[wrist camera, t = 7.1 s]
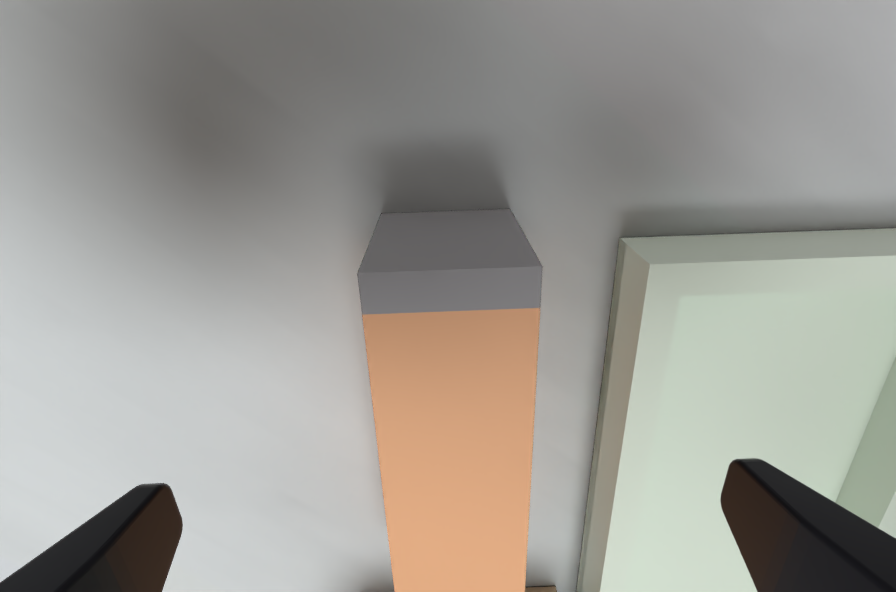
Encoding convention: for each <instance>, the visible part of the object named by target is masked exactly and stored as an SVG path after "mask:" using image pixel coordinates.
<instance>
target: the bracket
mask: <svg viewBox="0 0 896 592" xmlns="http://www.w3.org/2000/svg"><path fill="white" fill-rule="evenodd" d="M525 592H557V590H556V586H551V587H528V588H525Z"/></svg>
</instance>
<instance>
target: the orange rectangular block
mask: <svg viewBox="0 0 896 592" xmlns="http://www.w3.org/2000/svg"><path fill="white" fill-rule="evenodd" d="M357 274H358V283H359V292H360V300H361V309H362V317H363V326H364V334H365V343H366V351H367V360H368V368H369V377H370V386H371V394H372V403H373V411H374V420H375V428H376V437H377V445H378V454H379V463H380V471H381V480H382V488H383V497H384V505H385V514H386V522H387V531H388V540H389V548H390V557H391V565H392V574H393V582H394V591H395V592H525V579H526V561H527V542H528V524H529V506H530V487H531V469H532V450H533V432H534V413H535V395H536V376H537V358H538V340H539V321H540V303H541V284H542V265H541V263H540V261H539V259H538V257H537V256H536V254H535V252H534V250H533V249H532V247H531V245H530V243H529V242H528V240H527V238H526V236H525V234H524V233H523V231H522V229H521V227H520V226H519V224H518V222H517V220H516V219H515V217H514V215H513V213H512V211H511V210H510V209H491V210H463V211H435V212H407V213H381V215H380V218H379V220H378V223H377V225H376V228H375V230H374V233H373V235H372V238H371V240H370V243H369V245H368V248H367V250H366V253H365V255H364V258H363V260H362V263H361V265H360V268H359V270H358V273H357Z"/></svg>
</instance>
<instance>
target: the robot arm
mask: <svg viewBox="0 0 896 592" xmlns="http://www.w3.org/2000/svg"><path fill="white" fill-rule="evenodd" d="M720 502H721V507H722V511H723V514H724V516H725V518H726V521H727V523H728V525H729V527H730V530H731V532H732V534H733V537H734V539H735V541H736V544H737V546H738V548H739V550H740V553H741V555H742V557H743V560H744V562H745V564H746V567H747V569H748V571H749V573H750V576H751V578H752V580H753V583H754V585H755V587H756V590H757V592H896V538H894V537H893V536H891V535H889V534H887V533H886V532H884V531H882V530H881V529H879V528H877V527H876V526H874V525H872V524H871V523H869V522H867V521H865V520H864V519H862V518H860V517H859V516H857V515H855V514H854V513H852V512H850V511H849V510H847V509H845V508H844V507H842V506H840V505H838V504H837V503H835V502H833V501H832V500H830V499H828V498H827V497H825V496H823V495H822V494H820V493H818V492H816V491H815V490H813V489H811V488H810V487H808V486H806V485H805V484H803V483H801V482H800V481H798V480H796V479H794V478H793V477H791V476H789V475H788V474H786V473H784V472H783V471H781V470H779V469H778V468H776V467H774V466H772V465H771V464H769V463H767V462H766V461H764V460H762V459H758V458H745V459H735V460H733V461H732V462H731V463H730V464H729V467H728V471H727V474H726V478H725V481H724V485H723V489H722V492H721V498H720ZM182 526H183V524H182V517H181V515H180V512H179V509H178V506H177V504H176V501H175V498H174V495H173V492H172V490H171V488H170V487H169V486H168V485H167V484H164V483H155V484H142V485H139V486H136V487H135V488H133V489H132V490H130V491H129V492H128V493H126V494H125V495H123V496H122V497H121V498H119V499H118V500H116V501H115V502H113V503H112V504H111V505H109V506H108V507H106V508H105V509H104V510H102V511H101V512H99V513H98V514H96V515H95V516H94V517H92V518H91V519H89V520H88V521H87V522H85V523H84V524H82V525H81V526H80V527H78V528H77V529H75V530H74V531H72V532H71V533H70V534H68V535H67V536H65V537H64V538H63V539H61V540H60V541H58V542H57V543H55V544H54V545H53V546H51V547H50V548H48V549H47V550H46V551H44V552H43V553H41V554H40V555H39V556H37V557H36V558H34V559H33V560H31V561H30V562H29V563H27V564H26V565H24V566H23V567H22V568H20V569H19V570H17V571H16V572H14V573H13V574H12V575H10V576H9V577H7V578H6V579H5V580H3V581H2V582H0V592H162V590H163V587H164V584H165V581H166V578H167V575H168V572H169V569H170V566H171V564H172V561H173V558H174V555H175V552H176V549H177V546H178V543H179V540H180V537H181V534H182Z"/></svg>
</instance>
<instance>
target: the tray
mask: <svg viewBox="0 0 896 592" xmlns="http://www.w3.org/2000/svg"><path fill="white" fill-rule="evenodd" d="M745 458H758V459H762V460H764V461H766V462H767V463H769V464H771V465H772V466H774V467H776V468H778V469H779V470H781V471H783V472H784V473H786V474H788V475H789V476H791V477H793V478H794V479H796V480H798V481H800V482H801V483H803V484H805V485H806V486H808V487H810V488H811V489H813V490H815V491H816V492H818V493H820V494H822V495H823V496H825V497H827V498H828V499H830V500H832V501H833V502H835V503H837V504H838V505H840V506H842V507H844V508H845V509H847V510H849V511H850V512H852V513H854V514H855V515H857V516H859V517H860V518H862V519H864V520H865V521H867V522H869V523H871V524H872V525H874V526H876V527H877V528H879V529H881V530H882V531H884V532H886V533H887V534H889V535H891V536H893V537H894V538H896V228H883V229H855V230H827V231H799V232H772V233H744V234H716V235H688V236H661V237H633V238H620V239H619V247H618V255H617V263H616V271H615V279H614V288H613V296H612V304H611V312H610V320H609V328H608V336H607V345H606V353H605V361H604V369H603V377H602V385H601V394H600V402H599V410H598V418H597V426H596V434H595V443H594V451H593V459H592V467H591V475H590V483H589V492H588V500H587V508H586V516H585V524H584V532H583V540H582V549H581V557H580V565H579V573H578V581H577V589H576V592H757V590H756V587H755V585H754V583H753V580H752V578H751V576H750V573H749V571H748V569H747V567H746V564H745V562H744V560H743V557H742V555H741V553H740V550H739V548H738V546H737V544H736V541H735V539H734V537H733V534H732V532H731V530H730V527H729V525H728V523H727V521H726V518H725V516H724V514H723V511H722V507H721V502H720V498H721V492H722V489H723V485H724V481H725V478H726V474H727V471H728V467H729V464H730V463H731V462H732V461H733V460H735V459H745Z"/></svg>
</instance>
